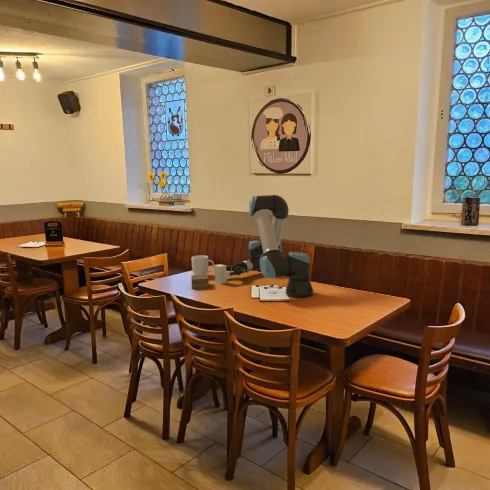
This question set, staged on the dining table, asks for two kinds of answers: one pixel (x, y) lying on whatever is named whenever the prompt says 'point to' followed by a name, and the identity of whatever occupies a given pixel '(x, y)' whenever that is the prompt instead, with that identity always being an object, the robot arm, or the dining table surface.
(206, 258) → the mug
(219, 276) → the sage block
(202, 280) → the walnut base
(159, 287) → the dining table surface
